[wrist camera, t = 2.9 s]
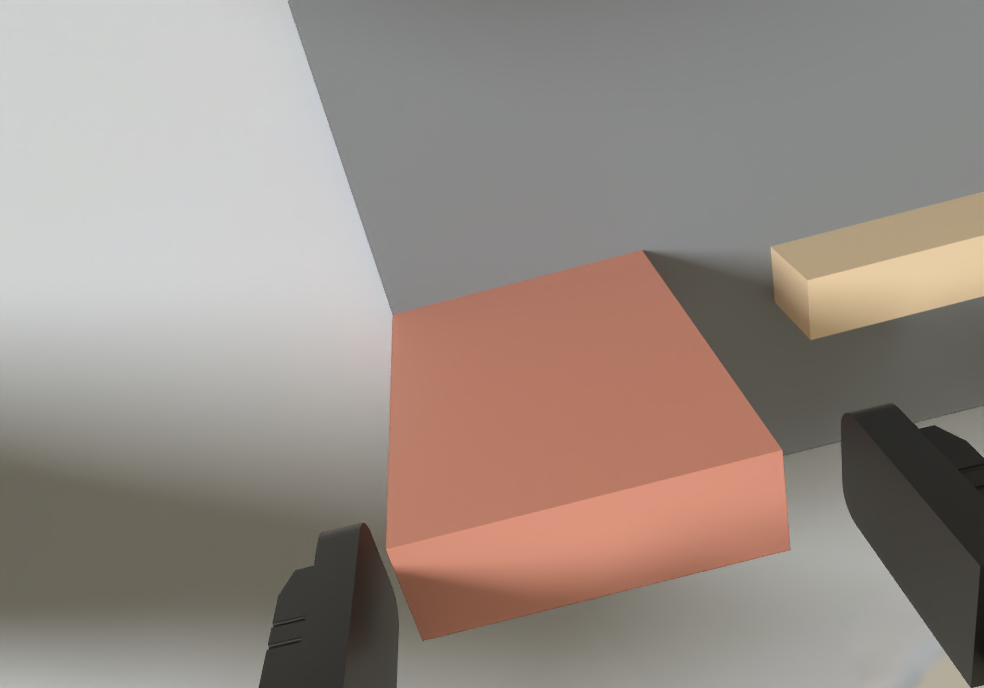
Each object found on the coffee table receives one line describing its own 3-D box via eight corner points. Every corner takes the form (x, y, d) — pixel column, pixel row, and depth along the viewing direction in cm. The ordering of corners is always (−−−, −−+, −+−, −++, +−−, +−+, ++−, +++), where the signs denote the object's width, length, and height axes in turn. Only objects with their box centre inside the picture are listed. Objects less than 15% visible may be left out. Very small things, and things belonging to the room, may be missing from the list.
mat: (465, 525, 23) (471, 588, 21) (290, -1, 16) (273, 12, 14) (1102, 365, 22) (1175, 413, 20) (1192, -246, 16) (1316, -271, 14)
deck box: (416, 385, 20) (423, 640, 13) (392, 314, 19) (385, 549, 12) (653, 324, 20) (790, 550, 13) (642, 250, 19) (782, 450, 12)
